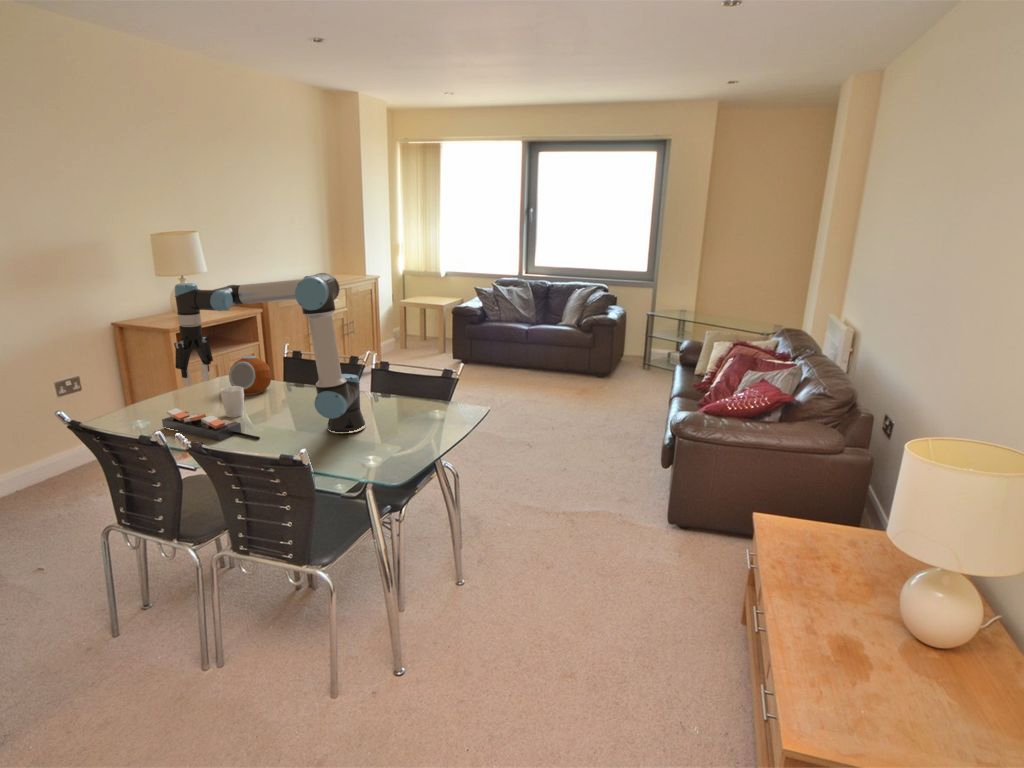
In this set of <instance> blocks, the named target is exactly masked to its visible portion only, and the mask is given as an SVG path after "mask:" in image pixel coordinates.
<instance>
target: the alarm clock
mask: <svg viewBox="0 0 1024 768" xmlns="http://www.w3.org/2000/svg"><path fill="white" fill-rule="evenodd" d="M228 377H229V382H230V384H231V385H230V386H241V387H243V391H244V395H257V394H260V393H261V392H262V393H264V392H265V391H266V390H267V389H268V388H269V386H270V385H271V381H272V370H271V368H270V366H269V365H268V364H267V363H266V362H265V361H264V360H263V359H261V358H259V357H256V356H255V355H244V356H243V357H242V358H240V359H238V360H236V361H235V362H234V363H233V365H232V366H231V367H230V369H229V373H228ZM263 391H264V392H263ZM262 393H261V394H262Z"/></svg>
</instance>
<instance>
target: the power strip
mask: <svg viewBox="0 0 1024 768" xmlns="http://www.w3.org/2000/svg"><path fill="white" fill-rule="evenodd" d="M184 412H185V413H187V414H189V417H191V416H194V415H201V414H199V413H194V412H190V411H184ZM208 416H209V415H206V417H208ZM206 417H204V418H206ZM217 418H218V417H217ZM202 419H203V418H201V419H199V420H195V421H187V422H184V419H183V420H180V421H179V420H177V419H175V418H174V417H172V416H168V417H166V418H162V419H161V421H162V422H161V423H162V428H163V427H166V428H170V429H174V430H178V431H177V432H176V433H181V434H184V435H189V436H192V437H198V438H199V437H200V438H201V439H202V438H203V439H207V440H212V441H216V442H221V441H224V440H226V439H229V438H232V437H233V436H239V437H245V438H250V439H253V440H258V441H259V440H260V438H261V437H260V436H257V435H253V434H249V433H244V432H242V426H241V422H237V421H232V420H229V419H223V418H218V419H220V420H222V421H224V422H225V425H224V426H221V427H218V428H216V429H215V428H213V427H212V426H210V425H208V424H206V423H204V422H202ZM182 432H183V433H182Z"/></svg>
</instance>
